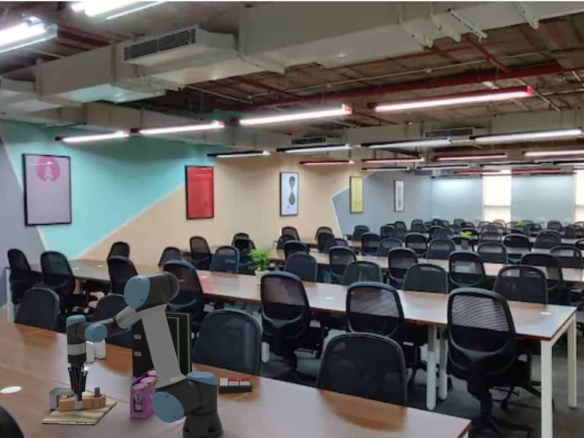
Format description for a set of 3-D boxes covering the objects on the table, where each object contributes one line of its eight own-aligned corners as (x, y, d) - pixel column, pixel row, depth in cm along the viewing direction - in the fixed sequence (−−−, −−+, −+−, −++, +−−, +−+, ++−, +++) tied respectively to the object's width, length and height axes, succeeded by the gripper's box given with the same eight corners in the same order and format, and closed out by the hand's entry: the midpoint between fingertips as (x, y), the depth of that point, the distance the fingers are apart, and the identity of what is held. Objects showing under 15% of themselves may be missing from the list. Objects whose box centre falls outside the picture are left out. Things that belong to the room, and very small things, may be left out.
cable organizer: (72, 360, 294) (72, 340, 293) (87, 355, 303) (87, 335, 303) (92, 364, 287) (91, 343, 287) (106, 358, 296) (106, 338, 296)
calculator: (251, 384, 243) (218, 384, 241) (250, 393, 243) (218, 394, 241) (250, 376, 254) (219, 376, 252) (249, 385, 254) (218, 385, 252)
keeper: (70, 410, 223) (69, 392, 223) (49, 410, 224) (49, 391, 223) (77, 404, 230) (77, 386, 230) (58, 403, 231) (57, 385, 230)
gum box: (146, 420, 213) (145, 387, 212) (127, 419, 214) (127, 386, 213) (168, 398, 236) (167, 368, 236) (151, 397, 238) (150, 368, 237)
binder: (193, 374, 268) (192, 312, 267) (176, 383, 255) (175, 319, 254) (150, 368, 279) (149, 308, 278) (131, 376, 265) (130, 314, 264)
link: (106, 401, 229) (106, 392, 229) (105, 407, 223) (104, 397, 222) (61, 406, 224) (61, 397, 224) (58, 412, 218) (58, 402, 217)
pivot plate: (94, 424, 209) (94, 402, 208) (41, 423, 210) (41, 401, 210) (116, 403, 231) (116, 383, 230) (68, 402, 232) (68, 382, 232)
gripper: (93, 353, 218) (94, 408, 218) (77, 348, 226) (79, 402, 226) (75, 357, 212) (77, 414, 212) (60, 352, 220) (62, 407, 221)
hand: (78, 408), depth 219 cm, fingers closed
